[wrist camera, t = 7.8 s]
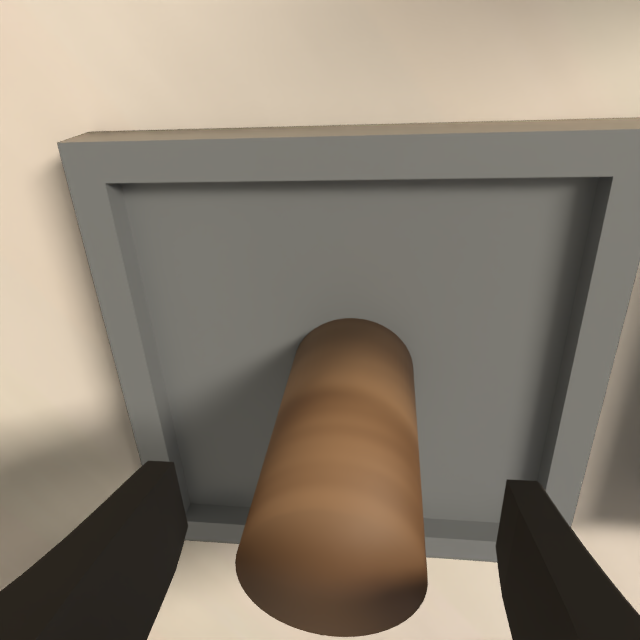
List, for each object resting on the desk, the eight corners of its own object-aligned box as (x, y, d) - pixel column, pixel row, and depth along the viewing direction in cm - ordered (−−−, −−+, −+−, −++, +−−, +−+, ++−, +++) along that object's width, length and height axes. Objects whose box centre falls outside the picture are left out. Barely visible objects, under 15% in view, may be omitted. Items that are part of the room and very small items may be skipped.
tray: (548, 527, 19) (560, 566, 18) (176, 504, 21) (161, 538, 20) (642, 117, 13) (673, 128, 11) (89, 131, 14) (56, 142, 13)
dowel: (411, 420, 17) (423, 644, 11) (297, 416, 17) (246, 628, 11) (415, 318, 15) (433, 515, 9) (289, 317, 16) (224, 503, 9)
